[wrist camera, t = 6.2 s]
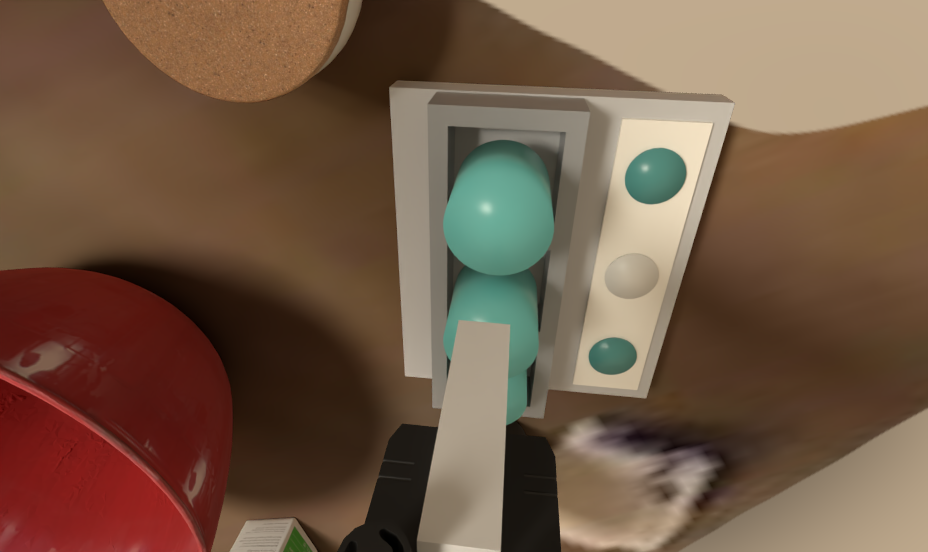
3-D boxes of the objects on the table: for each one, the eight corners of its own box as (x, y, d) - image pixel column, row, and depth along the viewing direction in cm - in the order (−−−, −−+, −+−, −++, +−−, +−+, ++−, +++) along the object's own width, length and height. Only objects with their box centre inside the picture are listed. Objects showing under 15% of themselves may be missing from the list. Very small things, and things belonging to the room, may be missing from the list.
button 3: (458, 317, 34) (449, 367, 29) (529, 323, 33) (530, 374, 29) (457, 370, 36) (448, 423, 32) (523, 376, 36) (523, 430, 31)
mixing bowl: (178, 143, 32) (-63, 263, 19) (354, 439, 45) (285, 629, 32) (-113, 238, 39) (-438, 375, 26) (115, 471, 52) (-21, 638, 39)
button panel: (397, 80, 28) (374, 99, 24) (721, 94, 27) (758, 117, 23) (410, 358, 39) (396, 405, 35) (640, 379, 38) (655, 430, 34)
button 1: (457, 137, 25) (443, 171, 20) (554, 142, 24) (560, 178, 20) (456, 224, 27) (443, 271, 23) (544, 230, 27) (547, 279, 22)
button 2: (455, 251, 28) (443, 301, 24) (540, 257, 28) (543, 309, 23) (454, 319, 30) (443, 375, 26) (532, 325, 30) (533, 384, 26)
